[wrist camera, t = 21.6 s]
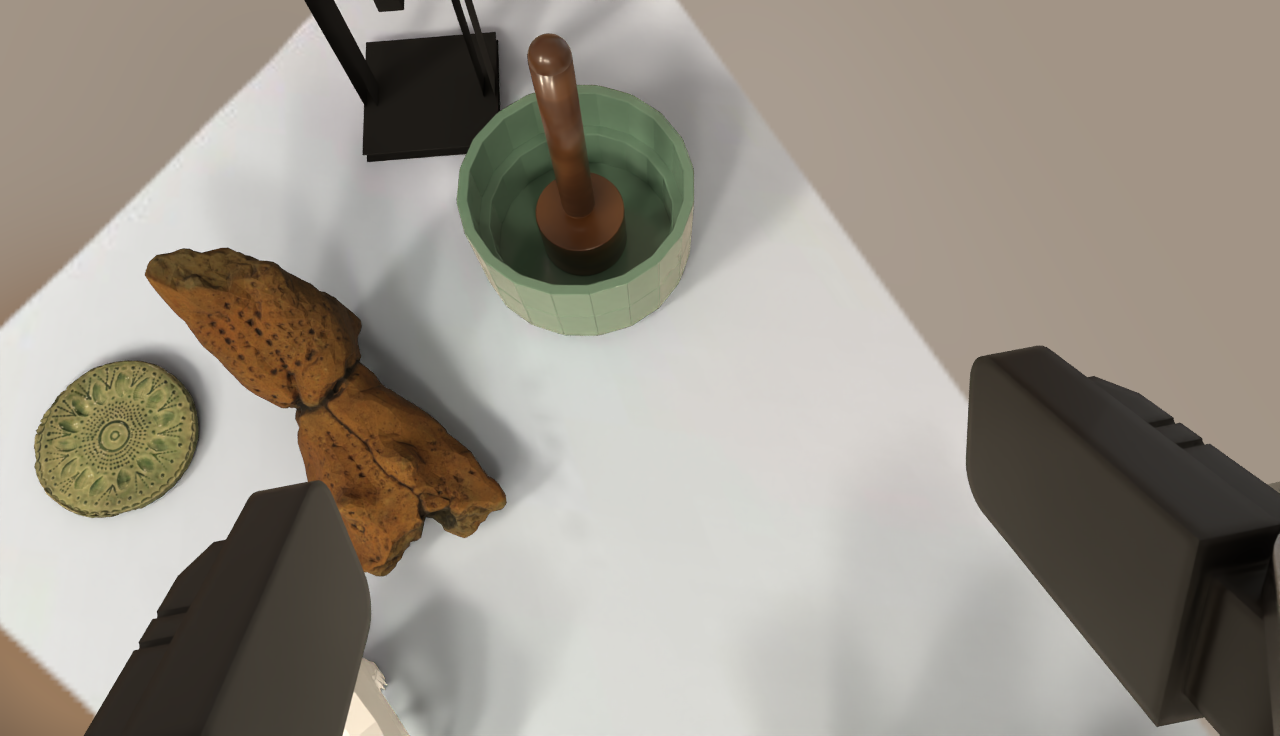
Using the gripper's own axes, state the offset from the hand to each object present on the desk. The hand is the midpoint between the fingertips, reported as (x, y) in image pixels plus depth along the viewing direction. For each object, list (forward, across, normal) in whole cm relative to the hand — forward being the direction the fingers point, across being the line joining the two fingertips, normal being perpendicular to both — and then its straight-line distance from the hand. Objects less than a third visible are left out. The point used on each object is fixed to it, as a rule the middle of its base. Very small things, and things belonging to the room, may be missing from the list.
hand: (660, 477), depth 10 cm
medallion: (+29, +25, +12) cm, 40 cm away
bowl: (+33, 0, +8) cm, 34 cm away
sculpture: (+28, +12, +13) cm, 33 cm away
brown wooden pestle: (+33, 0, +7) cm, 33 cm away
